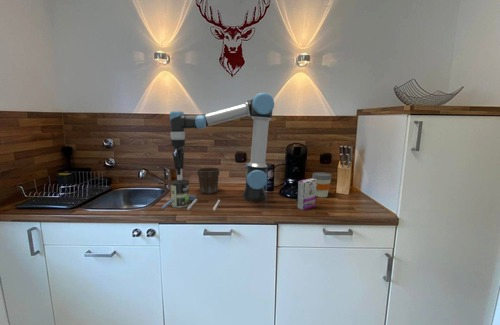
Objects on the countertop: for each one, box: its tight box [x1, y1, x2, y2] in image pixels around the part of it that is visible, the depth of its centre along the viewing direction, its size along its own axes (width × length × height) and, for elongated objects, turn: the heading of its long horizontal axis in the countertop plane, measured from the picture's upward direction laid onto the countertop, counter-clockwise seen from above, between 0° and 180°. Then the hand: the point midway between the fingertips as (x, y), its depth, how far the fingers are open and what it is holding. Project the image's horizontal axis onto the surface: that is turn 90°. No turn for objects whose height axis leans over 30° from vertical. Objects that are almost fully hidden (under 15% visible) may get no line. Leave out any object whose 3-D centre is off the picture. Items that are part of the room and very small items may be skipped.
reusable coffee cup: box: [311, 171, 332, 198], centre depth 161 cm, size 13×13×15 cm
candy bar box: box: [297, 178, 317, 211], centre depth 137 cm, size 11×5×16 cm, turn 126°
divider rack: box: [161, 195, 221, 212], centre depth 140 cm, size 30×18×2 cm, turn 87°
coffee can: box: [170, 179, 190, 209], centre depth 139 cm, size 10×10×14 cm
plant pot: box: [196, 167, 221, 195], centre depth 167 cm, size 16×16×16 cm
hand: (179, 179), depth 138 cm, fingers closed
